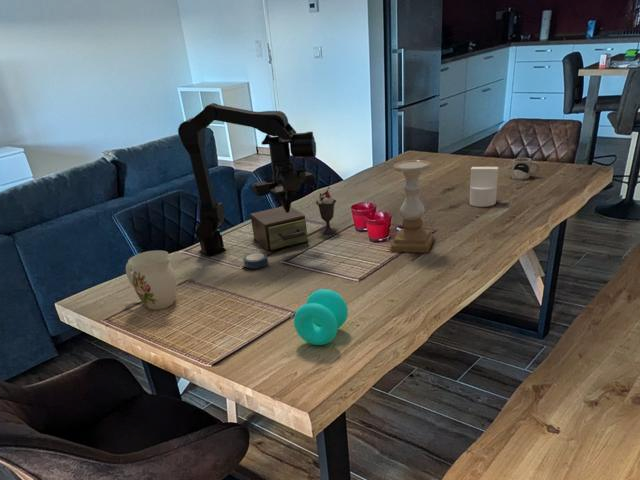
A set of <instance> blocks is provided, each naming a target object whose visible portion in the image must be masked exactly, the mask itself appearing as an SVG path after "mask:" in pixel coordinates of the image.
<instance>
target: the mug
mask: <svg viewBox="0 0 640 480" xmlns="http://www.w3.org/2000/svg"><path fill="white" fill-rule="evenodd" d="M533 165H535V166H536V171H532V172H531V168H532V167H531V166H533ZM540 169H541V165H540V162H539V161H533V160H532V158H529V157H517V158H513V159H512V167H511V179H512V180H517V181H523V180H528V179H530V176H537V175H538V174H539V173H540Z"/></svg>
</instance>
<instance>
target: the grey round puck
mask: <svg viewBox="0 0 640 480" xmlns="http://www.w3.org/2000/svg"><path fill="white" fill-rule="evenodd" d="M242 260H243V266H244V267H245V268H248V269H250V270H259V269H262V268H264V267H265V266H266V265H267V264H269V259H268V254H267V253H264V252H252V253H248V254H246V255H245V256H243V258H242Z"/></svg>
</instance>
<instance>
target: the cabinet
mask: <svg viewBox="0 0 640 480" xmlns="http://www.w3.org/2000/svg"><path fill="white" fill-rule="evenodd" d="M249 216H250V221H251V228H252V234H253V239H254V240H255V242H257V243H258V244H259V245H261V246H262V247H263V248H264V249H265V250H267V252H271V251H274V250H278V249H283V248H287V247H291V246H295V245H299V244H303V243H307V242H308V241H304V242H300V243H296V244H292V245H288V246H284V247H280V248H276V249H271V248H270V241H269V234H268V228H267V227H268V226H272V225H276V224H281V223H285V222H289V221H293V220H298V219H301V220H302V219H305V220H306V215H305V214H303V213H302V212H300V211H299V210H297V209H296V208H294V207H292V206H290V211H289V212H288V213H286V212H285V210H284V208H283V206H282V205H281V206H279V207H274V208H269V209H264V210H260V211H256V212H252V213H249Z"/></svg>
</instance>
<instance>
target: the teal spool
mask: <svg viewBox="0 0 640 480" xmlns="http://www.w3.org/2000/svg"><path fill="white" fill-rule="evenodd" d="M348 315H349V309H348V306H347V303H346V301H345V299H344V298H343V297H342V295H340V294H339V293H338V292H336V291H334V290H331V289H329V288H328V289H327V288H320V289H317V290H315V291H313V292H312V293H310V294H309V296H308V298H307V299H306V303H305V304H303V305H301V306H300V307H298V309H297V310H296V312H295V314H294V317H293V326H294V329H295V331H296V333H297V335H298V336H299V337H300V338H301V339H302V340H303V341H304V342H306V343H307V344H309V345H313V346H324V345H327V344H329V343H331V342H332V341H333V340H334V339H335V337H336V336H337V333H338V329H339V328H341V327H342V326H343V325H344V324H345V323H346V321H347V319H348Z"/></svg>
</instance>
